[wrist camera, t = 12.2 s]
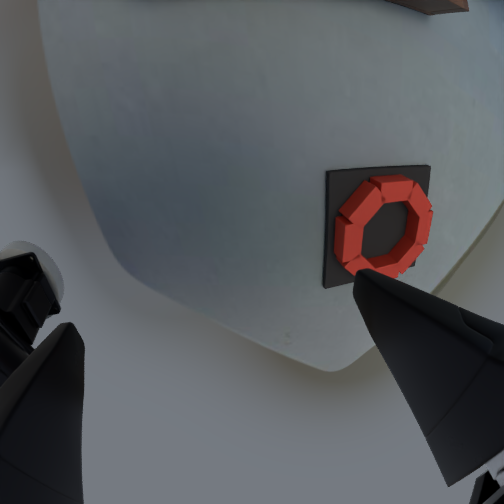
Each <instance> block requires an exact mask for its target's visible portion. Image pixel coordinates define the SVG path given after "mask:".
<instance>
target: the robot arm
mask: <svg viewBox="0 0 504 504" xmlns="http://www.w3.org/2000/svg"><path fill="white" fill-rule="evenodd" d="M30 257H32V258H33V259H31V258H30ZM353 297H354V299H355V302H356V304H357V306H358V308H359V310H360V313H361V315H362V317H363V319H364V322H365V324H366V326H367V328H368V331H369V333H370V335H371V337H372V339H373V340H374V342H375V344H376V346H377V347H378V349H379V351H380V353H381V354H382V356H383V358H384V360H385V362H386V363H387V365H388V367H389V369H390V371H391V373H392V374H393V376H394V378H395V380H396V382H397V384H398V386H399V387H400V389H401V391H402V393H403V395H404V397H405V399H406V401H407V403H408V404H409V406H410V408H411V410H412V412H413V414H414V416H415V418H416V420H417V422H418V424H419V426H420V428H421V430H422V432H423V434H424V436H425V437H426V441H427V443H428V445H429V447H430V449H431V451H432V453H433V455H434V457H435V460H436V462H437V464H438V466H439V468H440V471H441V473H442V475H443V477H444V479H445V482H446V484H447V486H448V487H450V486H451V485H453V484H455V483H456V482H458V481H460V480H461V479H463V478H464V477H466V476H467V475H469V474H470V473H472V472H474V471H475V470H477V469H478V468H480V467H481V466H482V465H483V464H485V465H486V467H487V470H486V471H485V472H484V473H482V474H481V475H480V476H479V477H478V478H476V481H475V485H474V489H473V492H472V496H471V499H470V503H469V504H504V325H503V324H500V323H497V322H494V321H492V320H489V319H487V318H484V317H482V316H479V315H477V314H475V313H472V312H470V311H468V310H465V309H463V308H461V307H459V308H458V306H456V305H454V304H452V303H450V302H447V301H445V300H443V299H440V298H438V297H436V296H434V295H431V294H429V293H427V292H424V291H422V290H420V289H417V288H415V287H413V286H410V285H408V284H406V283H403V282H401V281H398V280H396V279H394V278H391V277H389V276H386V275H384V274H382V273H379V272H377V271H374V270H372V269H370V268H365V269H361V270H358V271H357V272H356V274H355V280H354V287H353ZM55 308H56V309H55ZM60 311H61V307H60V305H59V303H58V301H57V299H56V297H55V294H54V292H53V290H52V288H51V286H50V284H49V282H48V280H47V278H46V276H45V274H44V272H43V270H42V267H41V265H40V263H39V260H38V258H37V256H36V254H35V253H33V252H28V253H24V254H20V255H16V256H13V257H9V258H5V259H2V260H0V504H84V500H83V486H82V458H81V457H82V456H81V445H82V444H81V443H82V414H83V399H84V354H85V346H84V342H83V340H82V338H81V336H80V334H79V333H78V331H77V329H76V327H75V326H74V324H73V323H71V322H68V323H61V324H60V325H58V326H57V328H55V330H54V331H52V332H51V334H49V336H47V338H46V339H45V340H44V341H43V342H42V343H41V344H40V345H39V346H38V347H37V348H36V349H34V348H33V347H32V346H31V345H32V344H33V342H34V340H35V337H36V335H37V333H38V330H39V328H42V326H43V324H44V321H45V319H46V317H47V316H48V315H55V314H59V313H60Z"/></svg>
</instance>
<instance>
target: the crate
mask: <svg viewBox="0 0 504 504" xmlns="http://www.w3.org/2000/svg"><path fill="white" fill-rule="evenodd" d="M385 1H389V2H392V3H396V4H399V5H402V6H405V7H408V8H411V9H414V10H417V11H420V12H422V13H425V14H428V15H436V14H445V13H454V12H468V11H469V7H468V2H467V0H385Z"/></svg>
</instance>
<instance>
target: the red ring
mask: <svg viewBox="0 0 504 504" xmlns="http://www.w3.org/2000/svg"><path fill="white" fill-rule="evenodd" d="M398 201H402V202H403V203H404V205H405V206H406V207H407V209H408V217H407V223H406V230H405V235H404V236H403V237H402V238H401V239H400V241H399V242H398V243H397V244H396V245H395V246H394V247H393V249H392V250H391V251H390V252H389V253H388V254H386V255H381V256H377V257H372V258H368V259H366V258H365V257H364V256H363V255H362V254H361V248H362V238H363V228H364V226H365V225H366V224H367V223H368V221H369V220H370V219H371V218H372V217H373V216H374V214H375V213H376V212H377V211H378V210H379V209H380V207H381V206H382V205H383V204H384V203H390V202H398ZM431 207H432V205H431V203H430V202H429V200H428V198H427V197H426V195H425V194H424V192H423V191H422V189H421V187H420V186H419V184H418V183H417V182H415V181H413V180H411V179H409V178H407V177H405V176H403V175H386V176H373V177H370V183H369V182H368V181H366V180H364V181H363V182H362V184H361V185H360V186H359V187H358V188H357V189H356V191H355V192H354V193H353V194H352V195H351V196H350V198H349V199H348V200H347V201H346V202H345V203H344V205H343V206H342V207H341V208H340V209H339V212H340V213H341V214H342V215H343V216H338V217H336V221H335V241H334V253H335V254H336V259H337V260H338V261H339V262H340V263H341V265H342V266H343V267H344V268H345V269H346V270H348V271H349V272H350V273H351V274H352V275H354V276H355V274H356V272H357V271H358V270H361V269H365V268H370V269H372V270H374V271H377V272H379V273H382V274H384V275H386V276H389V277H391V278H397V277H398V273H399V272H400V273H401V274H403V273H404V272H405V271H406V269H407V268H408V267H409V266H410V265H411V264H412V263H413V262H414V260H415V259H416V258H417V257H418V256H419V255H420V253H421V252H422V251H423V250H424V247H423V246H422V245H423V244H427V241H428V236H429V231H430V226H431V221H432V215H433V211H432V210H430V209H431Z"/></svg>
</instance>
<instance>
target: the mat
mask: <svg viewBox="0 0 504 504" xmlns="http://www.w3.org/2000/svg"><path fill="white" fill-rule="evenodd" d="M430 171H431V166H429V165H410V166H387V167H369V168H355V169H342V170H330V171H327V193H326V234H325V257H324V275H323V287H324V288H325V289H327V288H331V287H335V286H339V285H343V284H348V283H352V282H354V280H355V276H354V275H352V274H351V273H350V272H349V271H348V270H346V269H345V268H344V267H343V266H342V265H341V263H340V262H339V261H338V260H337V259H336V254H335V253H334V241H335V221H336V217H338V216H343V215H342V214H341V213H340V212H339V209H340V208H341V207H342V206H343V205H344V203H345V202H346V201H347V200H348V199H349V198H350V196H351V195H352V194H353V193H354V192H355V191H356V189H357V188H358V187H359V186H360V185H361V184H362V182H363V181H364V180H366V181H368V182H369V183H370V177H373V176H386V175H403V176H405V177H407V178H409V179H411V180H413V181H415V182H417V183H418V184H419V186H420V187H421V189H422V191H423V192H424V194H425V195H426V197H427V196H428V188H429V180H430ZM407 217H408V209H407V207H406V206H405V205H404V203H403V202H402V201H398V202H390V203H384V204H383V205H382V206H381V207H380V209H379V210H378V211H377V212H376V213H375V214H374V216H373V217H372V218H371V219H370V220H369V221H368V223H367V224H366V225H365V226H364V228H363V238H362V248H361V254H362V255H363V256H364V257H365V258H366V259H368V258H372V257H377V256H381V255H386V254H388V253H389V252H390V251H391V250H392V249H393V247H394V246H395V245H396V244H397V243H398V242H399V241H400V239H401V238H402V237H403V236H404V235H405V230H406V223H407ZM415 261H416V259H415V260H414V262H413V263H412V264H411V265H410V266H409V267H413V266H415ZM409 267H408V268H409Z"/></svg>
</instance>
